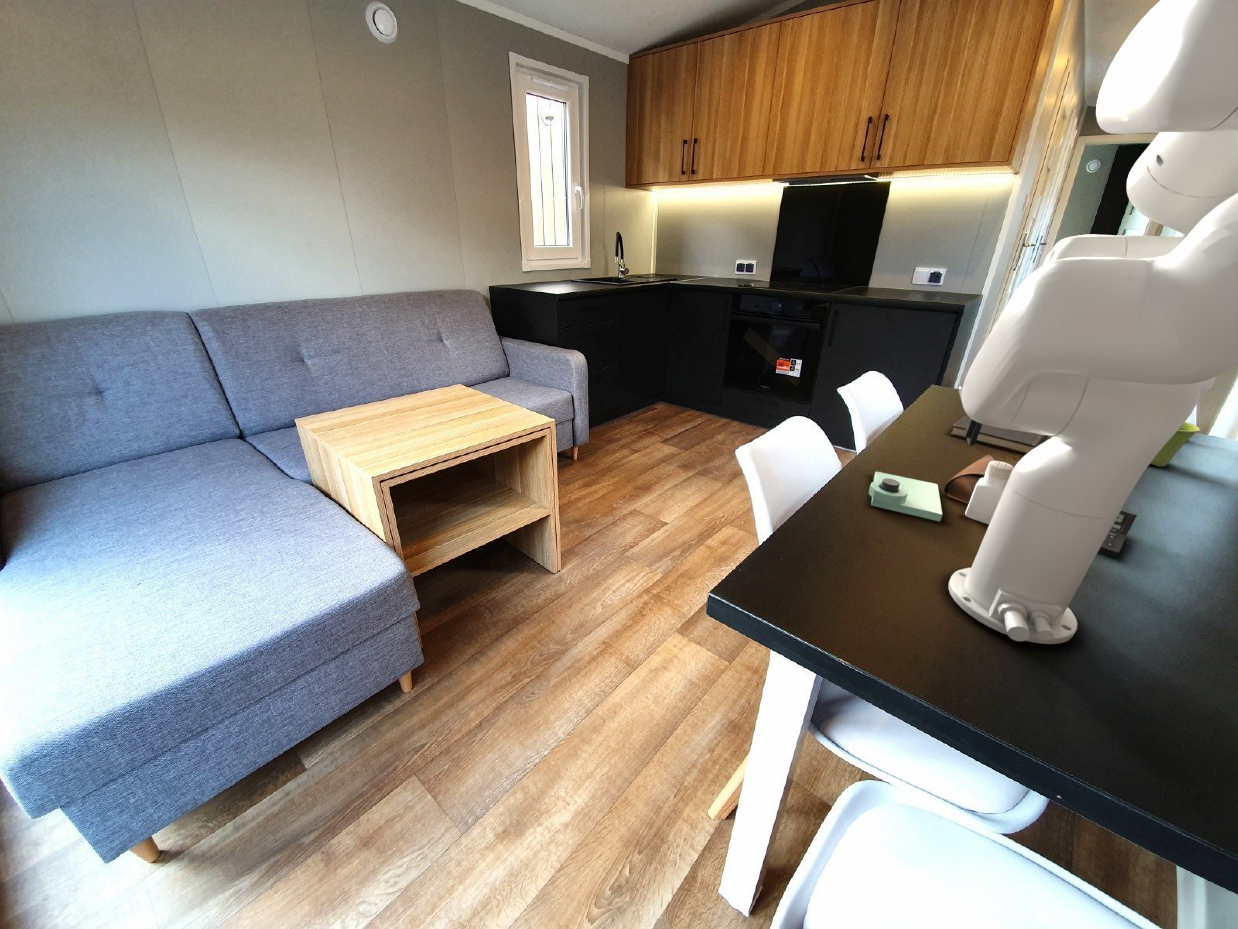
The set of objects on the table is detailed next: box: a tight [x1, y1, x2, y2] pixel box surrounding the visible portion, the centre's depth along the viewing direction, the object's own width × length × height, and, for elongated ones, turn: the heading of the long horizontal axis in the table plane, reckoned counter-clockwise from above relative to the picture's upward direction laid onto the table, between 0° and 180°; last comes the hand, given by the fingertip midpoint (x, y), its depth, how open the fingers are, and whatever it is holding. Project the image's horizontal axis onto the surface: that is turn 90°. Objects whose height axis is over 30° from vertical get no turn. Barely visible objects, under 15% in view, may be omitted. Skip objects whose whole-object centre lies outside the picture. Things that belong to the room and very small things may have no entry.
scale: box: [868, 470, 943, 522], centre depth 84 cm, size 13×11×3 cm
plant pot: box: [1149, 421, 1201, 467], centre depth 101 cm, size 9×9×9 cm
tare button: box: [880, 478, 900, 493], centre depth 81 cm, size 3×3×2 cm
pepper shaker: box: [964, 460, 1015, 525], centre depth 77 cm, size 4×4×10 cm
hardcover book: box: [949, 414, 1048, 455], centre depth 115 cm, size 16×23×2 cm
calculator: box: [1098, 510, 1137, 558], centre depth 76 cm, size 9×12×3 cm
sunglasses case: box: [943, 454, 996, 505], centre depth 88 cm, size 18×7×7 cm, turn 130°
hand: (1007, 449), depth 75 cm, fingers open, 9 cm apart
